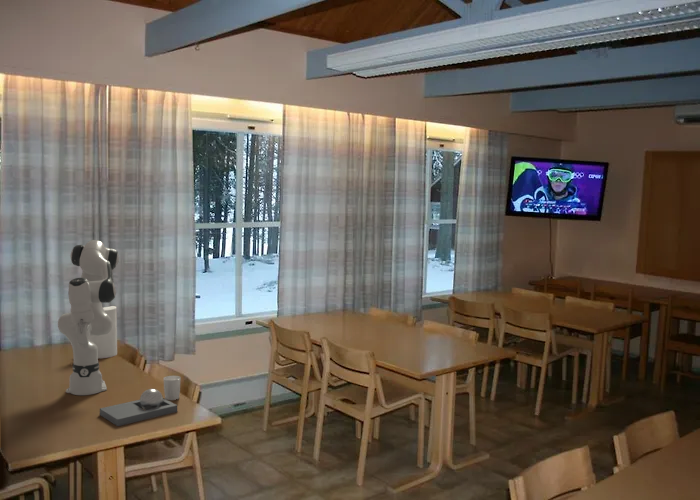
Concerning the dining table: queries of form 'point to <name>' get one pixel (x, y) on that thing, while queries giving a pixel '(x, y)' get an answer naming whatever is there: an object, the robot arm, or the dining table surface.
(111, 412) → the tray
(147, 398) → the steel ball
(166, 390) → the white cup
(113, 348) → the cylinder
